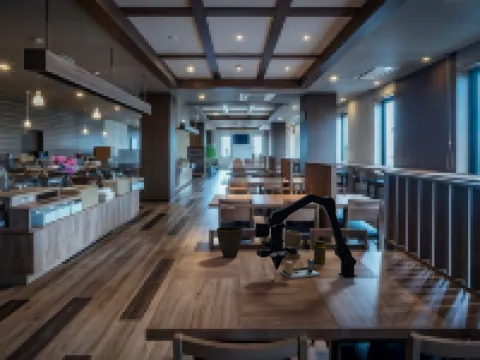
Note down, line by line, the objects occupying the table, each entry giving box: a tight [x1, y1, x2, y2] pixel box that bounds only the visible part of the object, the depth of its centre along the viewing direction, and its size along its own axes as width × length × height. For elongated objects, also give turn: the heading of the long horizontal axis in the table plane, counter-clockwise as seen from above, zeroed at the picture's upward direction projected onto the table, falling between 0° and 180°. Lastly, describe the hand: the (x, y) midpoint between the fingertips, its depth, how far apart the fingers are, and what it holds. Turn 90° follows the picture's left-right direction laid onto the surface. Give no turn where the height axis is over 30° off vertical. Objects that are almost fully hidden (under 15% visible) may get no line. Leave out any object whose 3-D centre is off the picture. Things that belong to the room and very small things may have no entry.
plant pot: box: [216, 226, 243, 259], centre depth 246 cm, size 15×15×16 cm
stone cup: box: [283, 229, 303, 259], centre depth 247 cm, size 15×12×15 cm
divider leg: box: [282, 260, 295, 274], centre depth 209 cm, size 6×2×5 cm, turn 23°
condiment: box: [313, 240, 329, 267], centre depth 231 cm, size 7×8×12 cm
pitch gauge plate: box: [279, 258, 321, 280], centre depth 210 cm, size 11×16×6 cm
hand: (276, 269), depth 205 cm, fingers closed
